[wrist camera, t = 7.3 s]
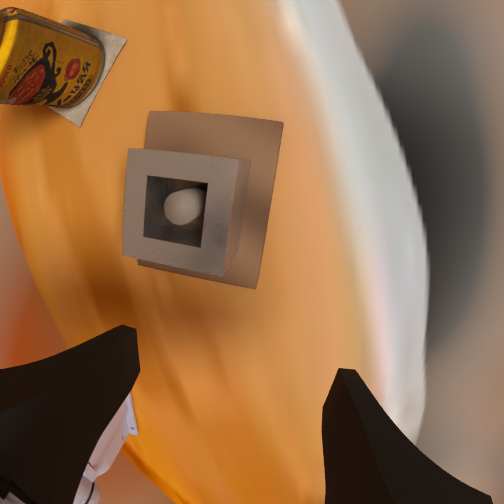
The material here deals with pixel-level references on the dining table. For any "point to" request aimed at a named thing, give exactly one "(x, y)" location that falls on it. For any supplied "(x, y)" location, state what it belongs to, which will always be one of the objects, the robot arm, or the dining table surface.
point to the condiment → (53, 62)
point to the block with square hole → (188, 235)
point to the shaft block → (194, 193)
